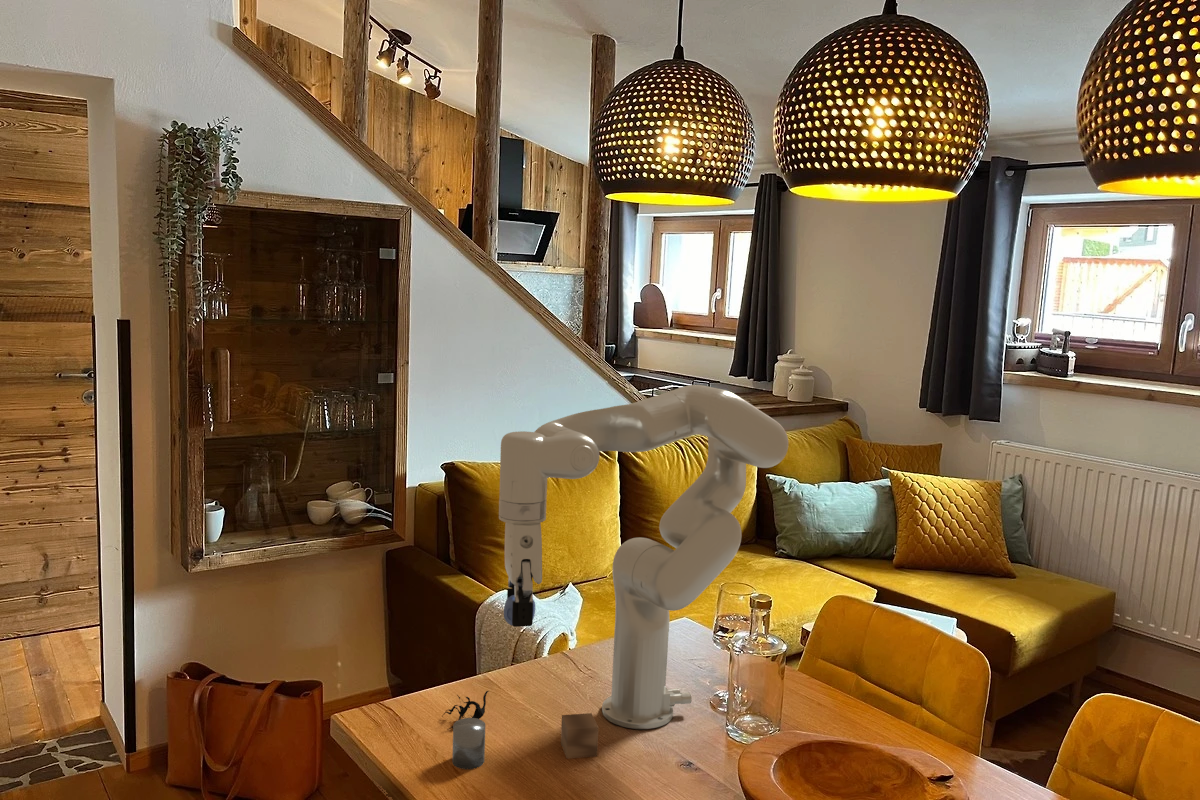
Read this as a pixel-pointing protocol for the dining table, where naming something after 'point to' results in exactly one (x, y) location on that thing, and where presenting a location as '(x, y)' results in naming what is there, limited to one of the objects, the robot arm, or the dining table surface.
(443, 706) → the dining table surface
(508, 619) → the decorative dice
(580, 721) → the walnut block
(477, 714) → the creature
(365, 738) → the dining table surface
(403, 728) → the dining table surface
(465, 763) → the dark metal cylinder
